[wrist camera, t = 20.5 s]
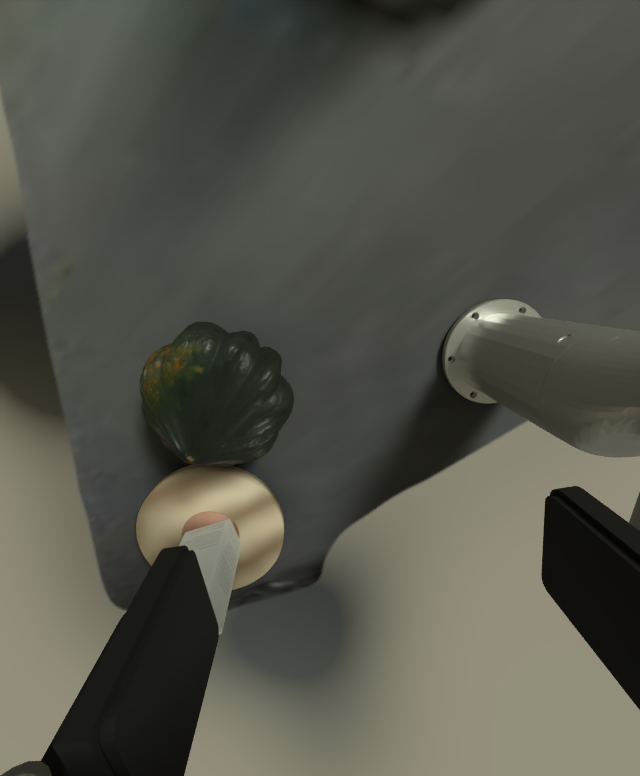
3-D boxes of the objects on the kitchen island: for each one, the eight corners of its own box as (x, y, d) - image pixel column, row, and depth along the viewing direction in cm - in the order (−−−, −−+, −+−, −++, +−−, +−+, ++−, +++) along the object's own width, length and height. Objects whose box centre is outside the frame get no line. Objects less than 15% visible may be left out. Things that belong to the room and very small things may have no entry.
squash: (252, 277, 32) (117, 368, 23) (339, 395, 37) (256, 511, 28) (193, 327, 43) (84, 404, 33) (267, 415, 47) (189, 505, 38)
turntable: (311, 533, 45) (313, 583, 38) (209, 600, 48) (191, 660, 40) (221, 435, 41) (203, 470, 33) (112, 515, 43) (72, 565, 35)
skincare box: (198, 556, 43) (160, 657, 31) (183, 529, 42) (138, 623, 30) (244, 543, 43) (223, 639, 31) (231, 514, 41) (204, 603, 30)
